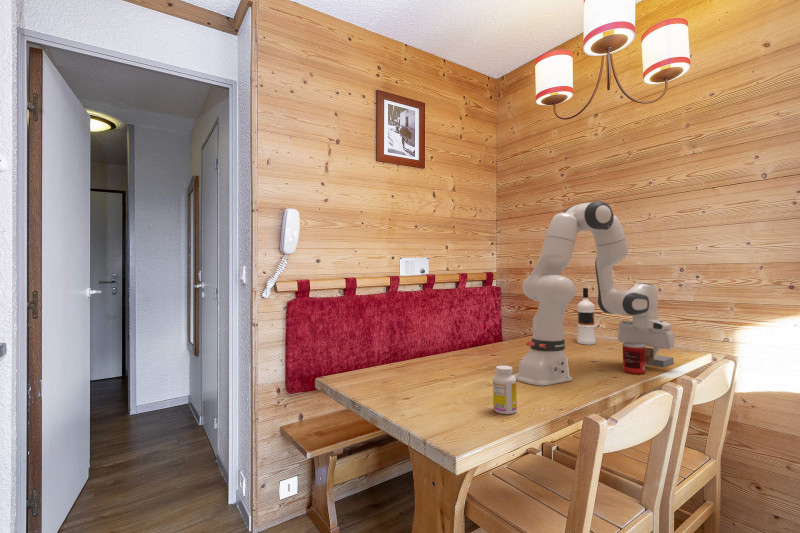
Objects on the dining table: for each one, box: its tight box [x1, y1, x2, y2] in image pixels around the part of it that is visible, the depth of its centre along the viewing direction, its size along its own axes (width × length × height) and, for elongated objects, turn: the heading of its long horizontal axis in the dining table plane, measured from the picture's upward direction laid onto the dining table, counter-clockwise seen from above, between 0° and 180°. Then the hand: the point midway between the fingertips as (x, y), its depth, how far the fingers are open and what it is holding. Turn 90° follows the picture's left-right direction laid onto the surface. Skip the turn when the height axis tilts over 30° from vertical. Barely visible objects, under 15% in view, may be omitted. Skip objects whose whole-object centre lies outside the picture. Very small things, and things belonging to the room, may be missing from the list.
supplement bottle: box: [492, 365, 518, 415], centre depth 117 cm, size 7×7×13 cm
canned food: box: [622, 342, 646, 376], centre depth 156 cm, size 8×8×11 cm
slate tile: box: [645, 354, 674, 368], centre depth 170 cm, size 10×10×2 cm
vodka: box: [576, 287, 597, 346], centre depth 214 cm, size 9×9×30 cm
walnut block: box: [645, 346, 655, 363], centre depth 163 cm, size 5×5×5 cm
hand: (644, 356), depth 163 cm, fingers closed on walnut block, 5 cm apart
